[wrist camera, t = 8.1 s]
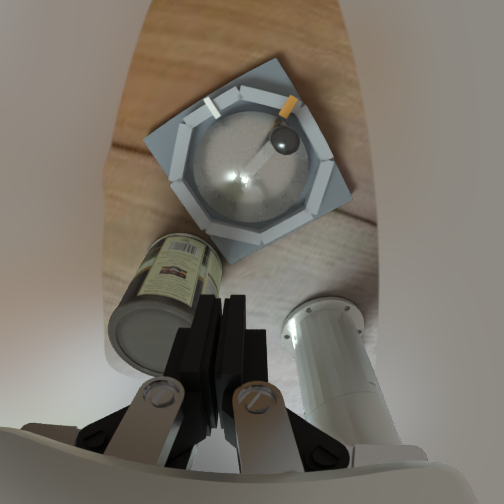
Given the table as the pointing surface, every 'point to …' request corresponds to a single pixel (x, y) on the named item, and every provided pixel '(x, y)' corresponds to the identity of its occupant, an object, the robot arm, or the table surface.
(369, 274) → the table surface
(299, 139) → the dial
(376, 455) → the robot arm
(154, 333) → the coffee can
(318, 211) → the panel
